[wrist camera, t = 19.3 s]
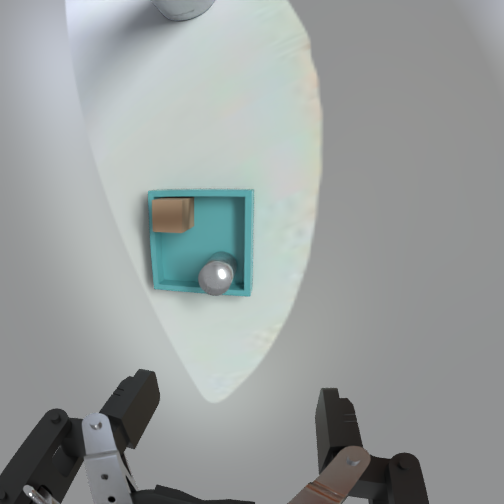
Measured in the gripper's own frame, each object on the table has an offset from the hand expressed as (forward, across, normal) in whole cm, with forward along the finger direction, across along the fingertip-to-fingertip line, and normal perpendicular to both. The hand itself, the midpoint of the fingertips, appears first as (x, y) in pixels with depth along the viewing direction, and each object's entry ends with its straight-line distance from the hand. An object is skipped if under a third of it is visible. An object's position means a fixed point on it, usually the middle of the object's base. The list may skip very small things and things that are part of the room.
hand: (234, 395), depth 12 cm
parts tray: (+28, +9, -1) cm, 30 cm away
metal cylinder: (+27, +6, +2) cm, 28 cm away
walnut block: (+28, +12, -5) cm, 30 cm away
